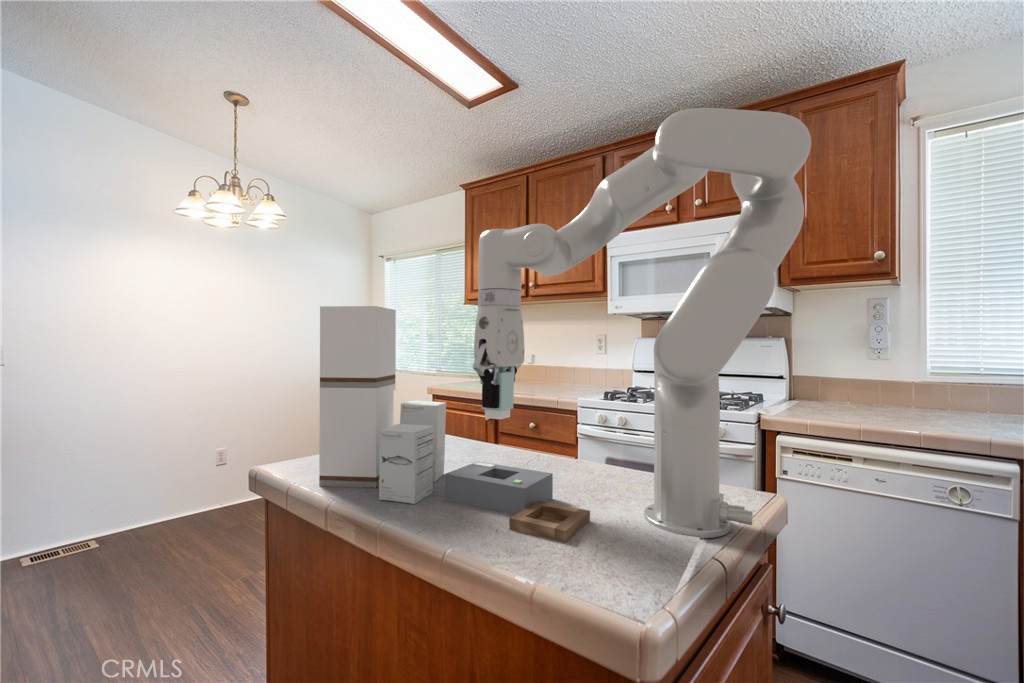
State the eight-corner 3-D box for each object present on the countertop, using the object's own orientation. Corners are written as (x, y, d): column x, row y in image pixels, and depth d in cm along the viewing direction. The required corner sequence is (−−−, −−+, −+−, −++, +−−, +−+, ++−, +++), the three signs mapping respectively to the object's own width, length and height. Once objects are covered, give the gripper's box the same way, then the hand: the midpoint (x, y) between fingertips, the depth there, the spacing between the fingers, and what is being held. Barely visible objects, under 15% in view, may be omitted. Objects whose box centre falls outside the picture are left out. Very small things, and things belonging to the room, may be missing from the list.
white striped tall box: (395, 472, 100) (395, 310, 101) (375, 487, 90) (376, 306, 90) (344, 471, 102) (344, 310, 102) (319, 486, 91) (320, 306, 91)
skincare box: (397, 480, 95) (397, 403, 95) (408, 471, 101) (409, 399, 101) (437, 482, 94) (437, 404, 94) (446, 473, 100) (446, 400, 100)
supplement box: (377, 501, 83) (377, 429, 83) (399, 488, 90) (399, 422, 90) (414, 505, 80) (415, 431, 80) (434, 492, 87) (434, 424, 87)
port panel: (552, 501, 82) (552, 471, 82) (524, 520, 74) (524, 486, 74) (477, 487, 90) (477, 459, 90) (444, 502, 82) (445, 472, 82)
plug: (513, 416, 83) (513, 366, 83) (501, 420, 79) (501, 366, 79) (494, 414, 85) (494, 365, 85) (481, 417, 81) (482, 366, 81)
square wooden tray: (589, 525, 72) (590, 510, 72) (565, 546, 64) (565, 530, 64) (537, 513, 76) (537, 500, 76) (509, 533, 69) (509, 518, 69)
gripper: (491, 296, 73) (489, 414, 73) (540, 304, 87) (538, 402, 87) (452, 298, 77) (451, 410, 77) (505, 305, 91) (504, 399, 91)
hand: (497, 405), depth 82 cm, fingers closed on plug, 4 cm apart
